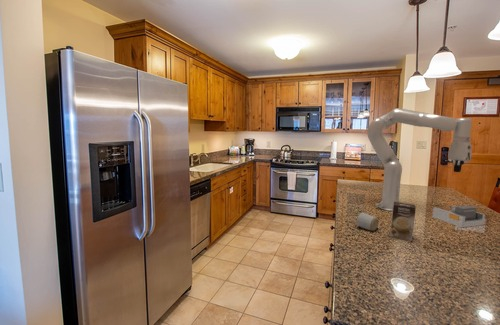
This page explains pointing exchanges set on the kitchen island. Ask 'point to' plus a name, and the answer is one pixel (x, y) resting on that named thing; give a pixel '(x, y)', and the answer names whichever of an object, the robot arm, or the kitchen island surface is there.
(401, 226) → the coffee box
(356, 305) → the kitchen island surface
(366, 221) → the grey short cylinder
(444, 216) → the rack
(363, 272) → the kitchen island surface
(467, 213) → the panel
